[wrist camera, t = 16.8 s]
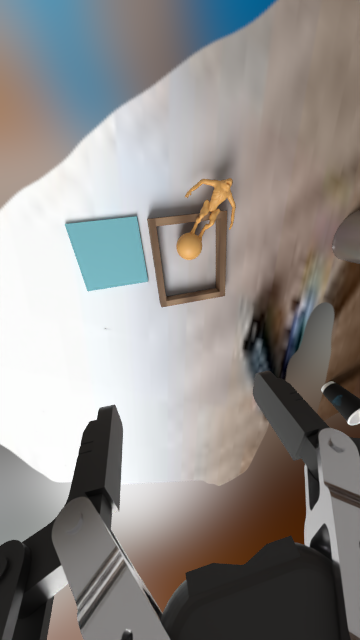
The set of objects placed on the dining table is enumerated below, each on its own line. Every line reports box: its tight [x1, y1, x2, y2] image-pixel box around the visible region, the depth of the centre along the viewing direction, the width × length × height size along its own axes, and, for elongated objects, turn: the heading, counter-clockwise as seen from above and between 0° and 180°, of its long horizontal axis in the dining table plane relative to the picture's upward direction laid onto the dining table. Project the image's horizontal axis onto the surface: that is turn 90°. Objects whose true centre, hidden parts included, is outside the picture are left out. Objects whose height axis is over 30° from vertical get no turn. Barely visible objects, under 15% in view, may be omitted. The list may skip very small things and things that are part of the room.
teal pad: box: [65, 216, 148, 291], centre depth 31 cm, size 10×10×1 cm
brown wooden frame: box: [147, 211, 227, 307], centre depth 34 cm, size 12×14×2 cm
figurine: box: [177, 178, 236, 260], centre depth 29 cm, size 8×6×12 cm
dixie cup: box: [321, 381, 360, 425], centre depth 59 cm, size 8×8×11 cm
